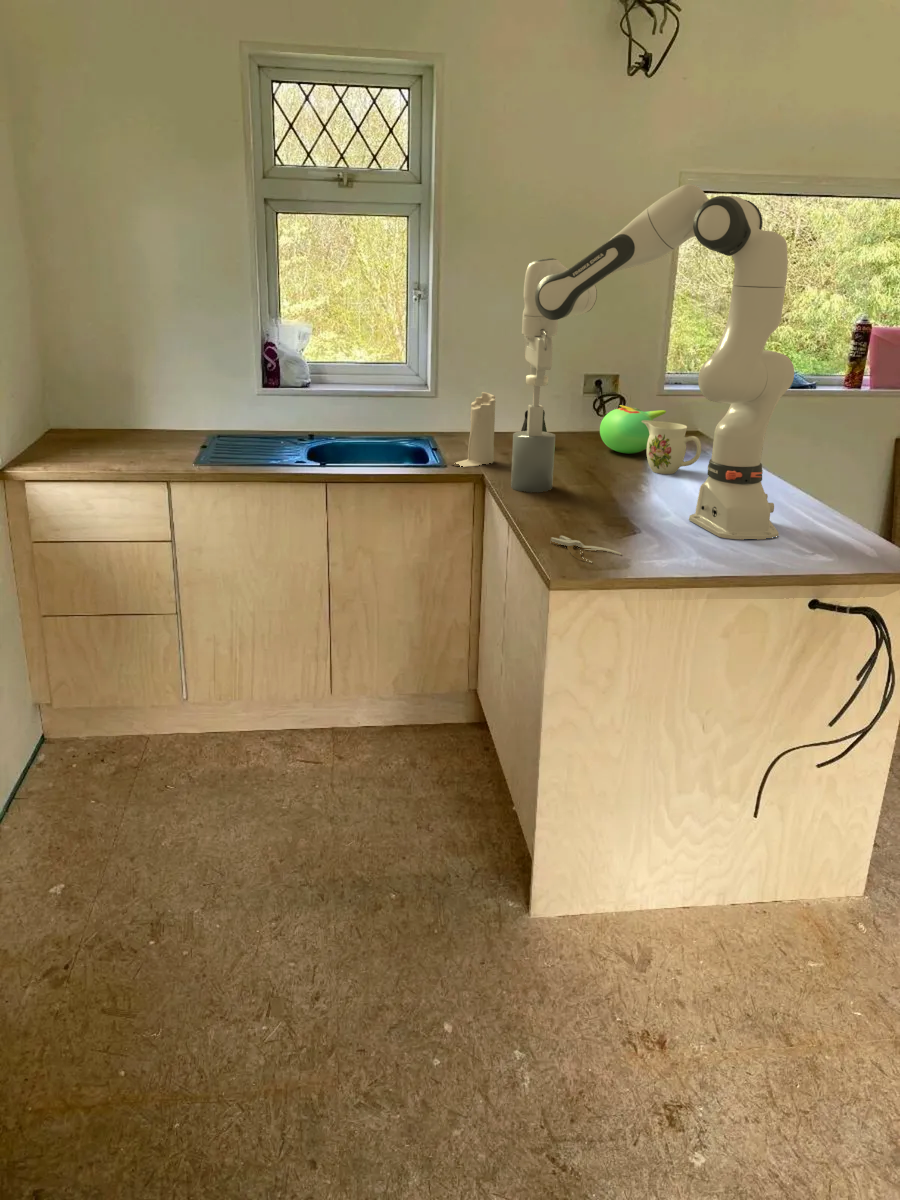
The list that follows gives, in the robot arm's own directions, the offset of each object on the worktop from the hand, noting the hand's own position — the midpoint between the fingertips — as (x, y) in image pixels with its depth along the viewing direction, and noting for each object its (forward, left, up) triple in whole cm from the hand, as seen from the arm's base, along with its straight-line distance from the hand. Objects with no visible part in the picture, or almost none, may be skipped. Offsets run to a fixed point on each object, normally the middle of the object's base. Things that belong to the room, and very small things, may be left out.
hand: (536, 383), depth 237 cm
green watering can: (+43, -37, -27) cm, 63 cm away
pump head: (0, 0, -7) cm, 7 cm away
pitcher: (+17, -42, -27) cm, 53 cm away
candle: (+28, +13, -27) cm, 41 cm away
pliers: (-53, -2, -28) cm, 60 cm away
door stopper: (+50, -8, -27) cm, 58 cm away
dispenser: (0, 0, -27) cm, 27 cm away
